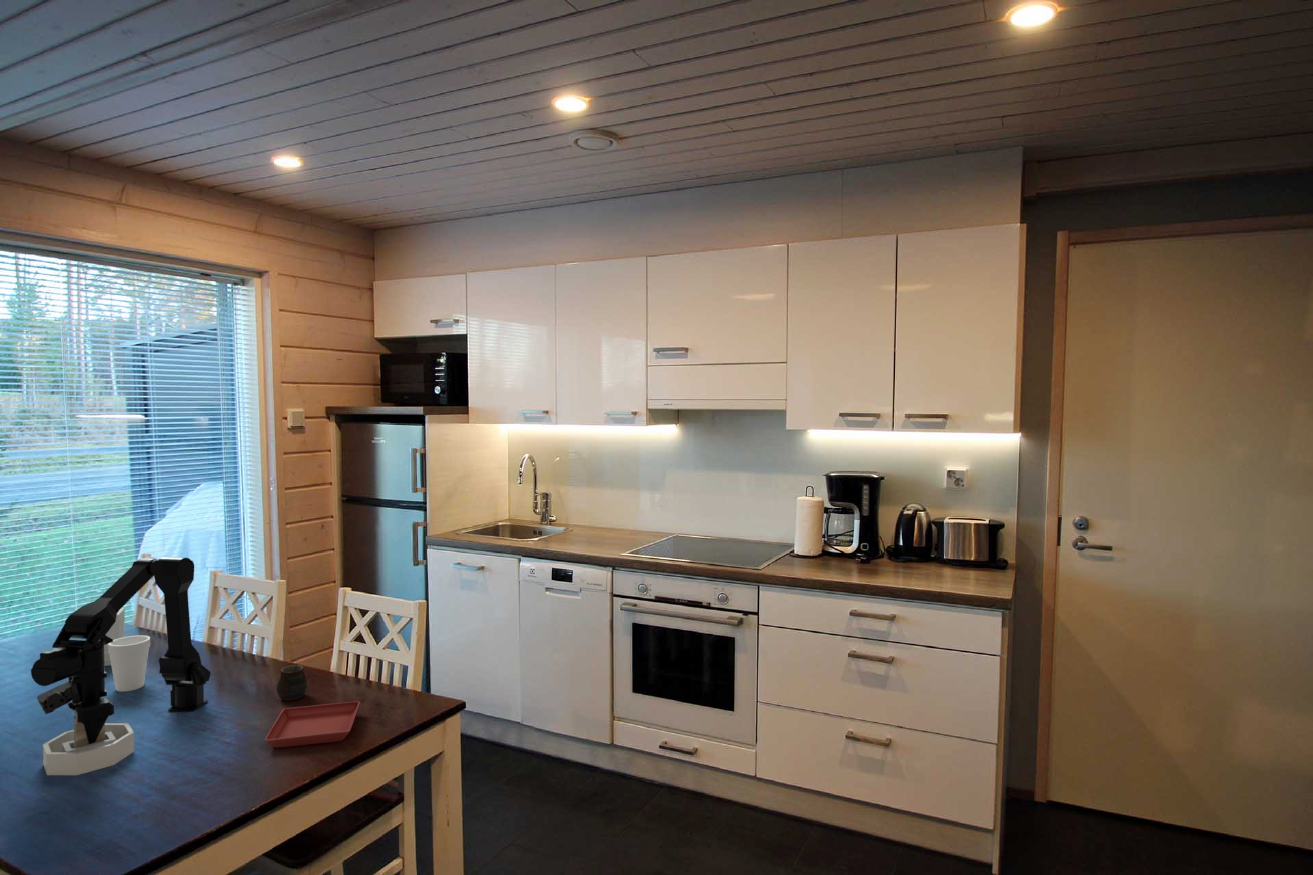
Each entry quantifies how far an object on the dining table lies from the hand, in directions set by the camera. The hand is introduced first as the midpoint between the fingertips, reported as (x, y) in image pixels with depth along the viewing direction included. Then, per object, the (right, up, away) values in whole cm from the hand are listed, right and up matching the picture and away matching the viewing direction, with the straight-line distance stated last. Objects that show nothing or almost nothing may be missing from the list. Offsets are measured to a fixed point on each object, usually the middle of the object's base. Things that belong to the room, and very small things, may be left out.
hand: (89, 738), depth 158 cm
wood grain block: (0, -3, 0) cm, 3 cm away
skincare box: (-41, -2, +60) cm, 73 cm away
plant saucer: (+43, -5, +15) cm, 45 cm away
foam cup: (-21, -3, +41) cm, 46 cm away
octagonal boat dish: (0, -4, 0) cm, 4 cm away
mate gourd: (+27, -4, +35) cm, 44 cm away
